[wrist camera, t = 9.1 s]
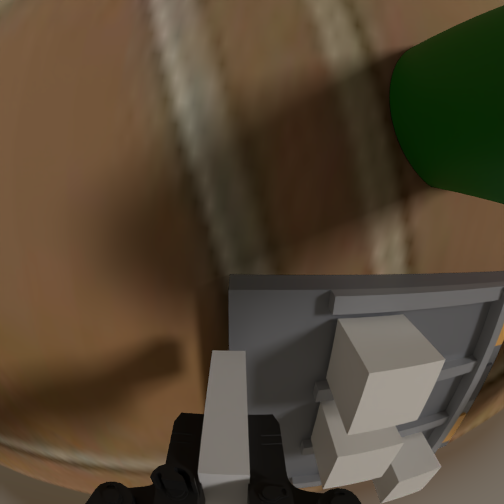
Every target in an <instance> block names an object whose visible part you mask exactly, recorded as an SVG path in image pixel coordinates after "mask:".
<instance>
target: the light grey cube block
mask: <svg viewBox="0 0 504 504" xmlns="http://www.w3.org/2000/svg"><path fill="white" fill-rule="evenodd" d="M445 360H446V359H445V358H444V357H443V356H442V355H441V354H440V353H439V352H438V351H437V350H436V348H435V347H434V346H433V345H432V344H431V343H430V342H429V341H428V340H427V339H426V338H425V337H424V336H423V335H422V333H421V332H420V331H419V330H418V329H417V328H416V327H415V326H414V325H413V324H412V323H411V322H410V321H409V320H408V319H407V318H406V317H405V316H404V315H403V314H402V315H389V316H376V317H360V318H341V319H338V320H337V326H336V332H335V337H334V342H333V347H332V352H331V357H330V362H329V367H328V371H327V376H326V379H327V382H328V384H329V387H330V390H331V392H332V395H333V398H334V400H335V403H336V406H337V409H338V411H339V414H340V417H341V419H342V422H343V425H344V428H345V431H346V433H347V435H352V434H358V433H363V432H369V431H374V430H378V429H383V428H388V427H392V426H396V425H400V424H404V423H408V422H412V421H415V420H417V419H418V417H419V415H420V414H421V412H422V410H423V408H424V406H425V404H426V402H427V400H428V398H429V396H430V394H431V392H432V389H433V387H434V385H435V383H436V381H437V378H438V376H439V374H440V372H441V369H442V367H443V365H444V362H445Z"/></svg>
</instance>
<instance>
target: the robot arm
mask: <svg viewBox="0 0 504 504" xmlns="http://www.w3.org/2000/svg"><path fill="white" fill-rule="evenodd" d="M150 478H151V480H152V482H153V484H152V485H150V486H145V487H134V488H127V487H126V486H124V485H123V484H121V483H117V482H106V483H103V484H100V485H99V486H98V487H97V488H96V489H95V491H94V492H93V494H92V495H91V497H90V498H89V499H88V501H87V502H86V504H361V502H360V501H359V499H358V498H357V497H356V495H354V494H353V493H352V492H351V491H348V490H346V489H339V488H336V489H331V490H328V491H327V492H325V493H315V492H308V491H304V490H300V489H299V488H297V487H295V486H294V485H293V484H291V482H290V481H289V479H288V476H287V472H286V465H285V458H284V451H283V445H282V437H281V430H280V424H279V422H278V421H277V419H276V418H275V417H274V415H273V414H265V415H248V412H247V383H246V352H245V351H220V350H212V357H211V364H210V372H209V380H208V387H207V395H206V404H205V412H204V414H192V413H181V414H180V415H179V416H178V418H177V419H176V420H175V421H174V425H173V430H172V435H171V440H170V444H169V449H168V454H167V459H166V464H164V465H161V466H159V467H157V468H156V469H155V470H154V471H153V472H152V474H151V476H150Z"/></svg>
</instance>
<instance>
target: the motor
mask: <svg viewBox="0 0 504 504" xmlns="http://www.w3.org/2000/svg"><path fill="white" fill-rule="evenodd" d="M390 110H391V117H392V121H393V125H394V129H395V132H396V136H397V138H398V141H399V143H400V146H401V148H402V150H403V152H404V154H405V156H406V158H407V159H408V161H409V163H410V164H411V166H412V167H413V169H414V170H415V171H416V173H417V174H418V175H419V176H420V177H421V178H422V179H423V180H424V181H425V182H426V183H427V184H428V185H430V186H431V187H435V188H440V189H445V190H449V191H454V192H458V193H462V194H467V195H471V196H475V197H479V198H483V199H487V200H491V201H494V202H498V203H502V204H504V6H501V7H498V8H496V9H493V10H491V11H488V12H486V13H483V14H481V15H479V16H476V17H474V18H472V19H469V20H467V21H465V22H463V23H460V24H458V25H456V26H454V27H452V28H450V29H448V30H446V31H443V32H441V33H439V34H437V35H435V36H433V37H431V38H429V39H427V40H425V41H424V42H422V43H420V44H418V45H416V46H414V47H412V48H410V49H409V50H408V51H406V52H405V53H404V54H403V55H402V56H401V58H400V59H399V60H398V62H397V64H396V66H395V68H394V71H393V74H392V78H391V83H390Z"/></svg>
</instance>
